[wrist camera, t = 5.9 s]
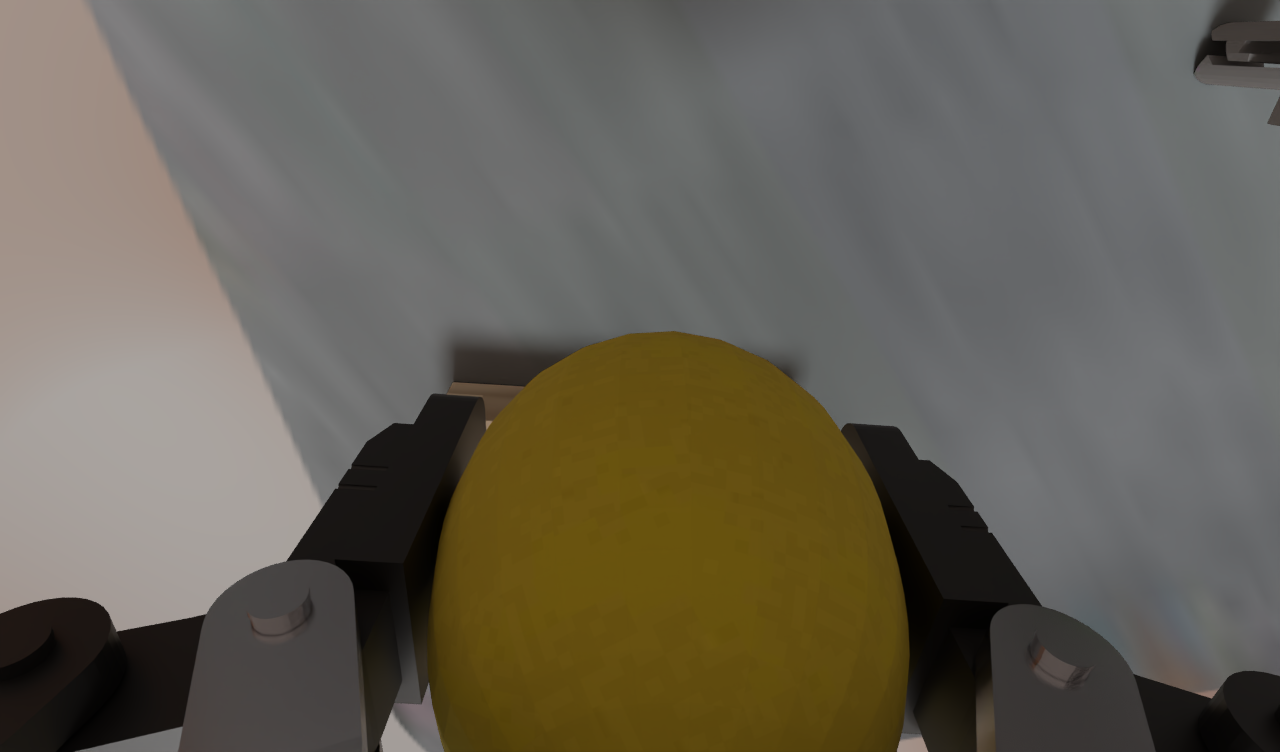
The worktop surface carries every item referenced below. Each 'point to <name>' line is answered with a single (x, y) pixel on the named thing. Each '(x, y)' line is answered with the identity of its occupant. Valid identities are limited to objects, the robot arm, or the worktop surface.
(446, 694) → the lemon
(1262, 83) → the mechanical component
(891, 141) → the worktop surface
